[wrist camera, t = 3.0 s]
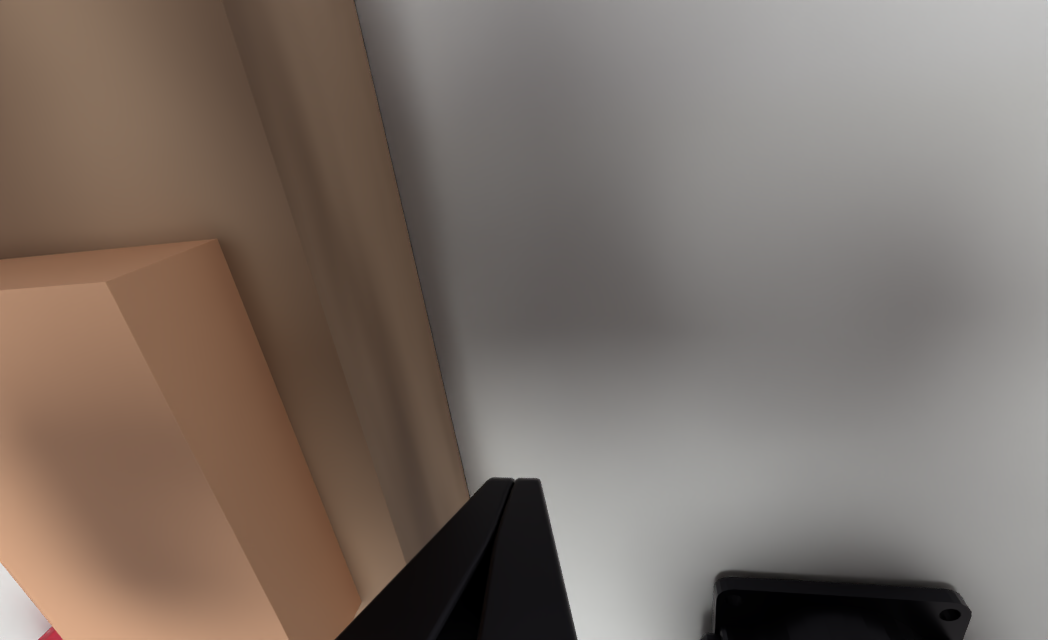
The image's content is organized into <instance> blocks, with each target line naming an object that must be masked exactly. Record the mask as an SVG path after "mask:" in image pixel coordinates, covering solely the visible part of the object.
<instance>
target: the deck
mask: <svg viewBox="0 0 1048 640" xmlns="http://www.w3.org/2000/svg"><path fill="white" fill-rule="evenodd" d="M208 239H218V242H219V244H220V247H221V249H222V252H223V254H224V257H225V259H226V262H227V264H228V267H229V269H230V272H231V274H232V277H233V279H234V282H235V285H236V287H237V290H238V292H239V295H240V297H241V300H242V302H243V305H244V307H245V310H246V312H247V315H248V317H249V320H250V322H251V325H252V327H253V330H254V332H255V335H256V337H257V340H258V342H259V345H260V347H261V350H262V352H263V355H264V357H265V360H266V362H267V365H268V367H269V370H270V372H271V375H272V378H273V380H274V383H275V385H276V388H277V390H278V393H279V395H280V398H281V400H282V403H283V405H284V408H285V410H286V413H287V415H288V418H289V420H290V423H291V425H292V428H293V430H294V433H295V435H296V438H297V440H298V443H299V445H300V448H301V450H302V453H303V455H304V458H305V460H306V463H307V465H308V468H309V471H310V473H311V476H312V478H313V481H314V483H315V486H316V488H317V491H318V493H319V496H320V498H321V501H322V503H323V506H324V508H325V511H326V513H327V516H328V518H329V521H330V523H331V526H332V528H333V531H334V533H335V536H336V538H337V541H338V543H339V546H340V548H341V551H342V553H343V556H344V558H345V561H346V564H347V566H348V569H349V571H350V574H351V576H352V579H353V581H354V584H355V586H356V589H357V591H358V594H359V596H360V599H361V601H362V602H361V605H360V607H359V609H358V611H357V613H356V615H355V617H354V619H355V618H356V617H357V616H358V614H359V613H360V612H361V611H362V610H363V609H364V608H365V607H366V606H367V605H368V604H369V603H370V602H371V601H372V600H373V599H374V598H375V597H376V596H377V595H378V594H379V593H380V592H381V591H382V590H383V588H384V587H385V586H386V585H387V584H388V583H389V582H390V581H391V580H392V579H393V578H394V577H395V576H396V575H397V574H398V573H399V572H400V571H401V570H402V569H403V568H404V567H405V566H406V565H407V564H408V562H409V561H410V560H411V559H412V558H413V557H414V556H415V555H416V554H417V553H418V552H419V551H420V550H421V549H422V548H423V547H424V546H425V545H426V544H427V543H428V542H429V541H430V540H431V539H432V538H433V536H434V535H435V534H436V533H437V532H438V531H439V530H440V529H441V528H442V527H443V526H444V525H445V524H446V523H447V522H448V521H449V520H450V519H451V518H452V517H453V516H454V515H455V514H456V513H457V512H458V510H459V509H460V508H461V507H462V506H463V505H464V504H465V503H466V502H467V501H468V500H469V499H470V497H469V493H468V488H467V484H466V480H465V475H464V471H463V467H462V463H461V458H460V454H459V450H458V445H457V441H456V437H455V432H454V428H453V424H452V420H451V415H450V411H449V407H448V402H447V398H446V394H445V389H444V385H443V381H442V377H441V372H440V368H439V364H438V359H437V355H436V351H435V346H434V342H433V338H432V334H431V329H430V325H429V321H428V316H427V312H426V308H425V303H424V299H423V295H422V291H421V286H420V282H419V278H418V273H417V269H416V265H415V260H414V256H413V252H412V248H411V243H410V239H409V235H408V230H407V226H406V222H405V217H404V213H403V209H402V205H401V200H400V196H399V192H398V187H397V183H396V179H395V175H394V170H393V166H392V162H391V157H390V153H389V149H388V144H387V140H386V136H385V132H384V127H383V123H382V119H381V114H380V110H379V106H378V101H377V97H376V93H375V89H374V84H373V80H372V76H371V71H370V67H369V63H368V58H367V54H366V50H365V46H364V41H363V37H362V33H361V28H360V24H359V20H358V15H357V11H356V7H355V3H354V0H0V260H1V259H11V258H21V257H32V256H42V255H52V254H63V253H73V252H84V251H94V250H104V249H115V248H125V247H136V246H146V245H156V244H167V243H177V242H188V241H198V240H208ZM354 619H353V620H354Z"/></svg>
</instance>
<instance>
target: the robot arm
mask: <svg viewBox="0 0 1048 640" xmlns="http://www.w3.org/2000/svg"><path fill="white" fill-rule="evenodd" d="M970 619H971V610H970V609H969V607H968V606H967V604H966V603H965V601H964V600H963V598H962V597H961V596H960V594H959V593H957V592H955V591H953V590H948V589H935V588H918V587H900V586H882V585H865V584H847V583H829V582H811V581H794V580H776V579H758V578H741V577H725V578H722V579H720V580H718V581H717V582H716V583H715V585H714V595H713V619H712V633H705V634H704V635H703V636H702V638H701V639H700V640H963V638H964V635H965V632H966V630H967V627H968V624H969V621H970ZM334 640H577V635H576V631H575V627H574V622H573V618H572V614H571V610H570V605H569V601H568V597H567V592H566V588H565V584H564V579H563V575H562V571H561V566H560V562H559V558H558V553H557V549H556V545H555V540H554V536H553V532H552V527H551V523H550V519H549V514H548V510H547V506H546V501H545V497H544V493H543V488H542V484H541V481H540V480H539V479H537V478H518V479H516V480H514V479H513V478H499V477H493V478H490V479H489V480H487V481H486V482H485V483H484V484H483V486H482V487H481V488H480V489H479V490H478V491H477V492H476V493H475V494H474V495H473V496H472V497H471V498H470V499H469V500H468V501H467V502H466V503H465V504H464V505H463V506H462V507H461V508H460V509H459V510H458V512H457V513H456V514H455V515H454V516H453V517H452V518H451V519H450V520H449V521H448V522H447V523H446V524H445V525H444V526H443V527H442V528H441V529H440V530H439V531H438V532H437V533H436V534H435V535H434V536H433V538H432V539H431V540H430V541H429V542H428V543H427V544H426V545H425V546H424V547H423V548H422V549H421V550H420V551H419V552H418V553H417V554H416V555H415V556H414V557H413V558H412V559H411V560H410V561H409V562H408V564H407V565H406V566H405V567H404V568H403V569H402V570H401V571H400V572H399V573H398V574H397V575H396V576H395V577H394V578H393V579H392V580H391V581H390V582H389V583H388V584H387V585H386V586H385V587H384V588H383V590H382V591H381V592H380V593H379V594H378V595H377V596H376V597H375V598H374V599H373V600H372V601H371V602H370V603H369V604H368V605H367V606H366V607H365V608H364V609H363V610H362V611H361V612H360V613H359V614H358V616H357V617H356V618H355V619H354V620H353V621H352V622H351V623H350V624H349V625H348V626H347V627H346V628H345V629H344V630H343V631H342V632H341V633H340V634H339V635H338V636H337V637H336V638H335V639H334Z"/></svg>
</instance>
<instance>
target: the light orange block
mask: <svg viewBox="0 0 1048 640" xmlns="http://www.w3.org/2000/svg"><path fill="white" fill-rule="evenodd" d="M0 562H1V563H2V565H3V566H4V567H5V568H6V570H7V571H8V572H9V573H10V575H11V576H12V577H13V578H14V580H15V581H16V582H17V583H18V584H19V586H20V587H21V588H22V589H23V591H24V592H25V593H26V594H27V596H28V597H29V598H30V599H31V601H32V602H33V603H34V604H35V605H36V607H37V608H38V609H39V610H40V612H41V613H42V614H43V615H44V617H45V618H46V619H47V620H48V622H49V623H50V624H51V625H52V626H53V628H54V629H55V630H56V631H57V633H58V634H59V635H60V636H61V638H62V639H63V640H334V639H335V638H336V637H337V636H338V635H339V634H340V633H341V632H342V631H343V630H344V629H345V628H346V627H347V626H348V625H349V624H350V623H351V622H352V621H353V619H354V617H355V615H356V613H357V611H358V609H359V607H360V605H361V602H362V601H361V599H360V596H359V594H358V591H357V589H356V586H355V584H354V581H353V579H352V576H351V574H350V571H349V569H348V566H347V564H346V561H345V558H344V556H343V553H342V551H341V548H340V546H339V543H338V541H337V538H336V536H335V533H334V531H333V528H332V526H331V523H330V521H329V518H328V516H327V513H326V511H325V508H324V506H323V503H322V501H321V498H320V496H319V493H318V491H317V488H316V486H315V483H314V481H313V478H312V476H311V473H310V471H309V468H308V465H307V463H306V460H305V458H304V455H303V453H302V450H301V448H300V445H299V443H298V440H297V438H296V435H295V433H294V430H293V428H292V425H291V423H290V420H289V418H288V415H287V413H286V410H285V408H284V405H283V403H282V400H281V398H280V395H279V393H278V390H277V388H276V385H275V383H274V380H273V378H272V375H271V372H270V370H269V367H268V365H267V362H266V360H265V357H264V355H263V352H262V350H261V347H260V345H259V342H258V340H257V337H256V335H255V332H254V330H253V327H252V325H251V322H250V320H249V317H248V315H247V312H246V310H245V307H244V305H243V302H242V300H241V297H240V295H239V292H238V290H237V287H236V285H235V282H234V279H233V277H232V274H231V272H230V269H229V267H228V264H227V262H226V259H225V257H224V254H223V252H222V249H221V247H220V244H219V242H218V239H208V240H198V241H188V242H177V243H167V244H156V245H146V246H136V247H125V248H115V249H104V250H94V251H84V252H73V253H63V254H52V255H42V256H32V257H21V258H11V259H1V260H0Z"/></svg>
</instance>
